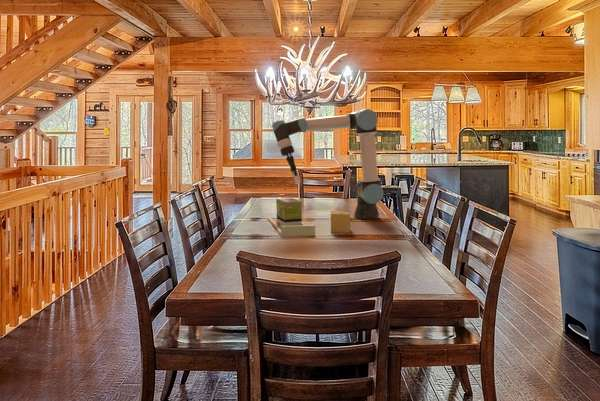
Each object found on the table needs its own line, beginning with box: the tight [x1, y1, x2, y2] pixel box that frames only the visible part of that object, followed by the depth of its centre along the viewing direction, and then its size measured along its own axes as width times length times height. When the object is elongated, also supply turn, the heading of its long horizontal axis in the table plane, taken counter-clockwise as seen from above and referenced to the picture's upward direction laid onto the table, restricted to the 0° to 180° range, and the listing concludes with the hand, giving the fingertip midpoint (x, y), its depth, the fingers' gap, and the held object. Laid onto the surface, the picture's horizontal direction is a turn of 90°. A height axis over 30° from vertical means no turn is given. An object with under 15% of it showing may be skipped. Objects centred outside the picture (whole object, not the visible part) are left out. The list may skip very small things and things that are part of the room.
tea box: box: [275, 197, 303, 227], centre depth 283 cm, size 15×10×15 cm
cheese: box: [330, 210, 351, 234], centre depth 269 cm, size 10×11×10 cm
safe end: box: [276, 224, 316, 237], centre depth 262 cm, size 17×14×5 cm
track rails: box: [267, 217, 307, 231], centre depth 287 cm, size 17×38×2 cm, turn 11°
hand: (298, 182), depth 291 cm, fingers open, 13 cm apart
